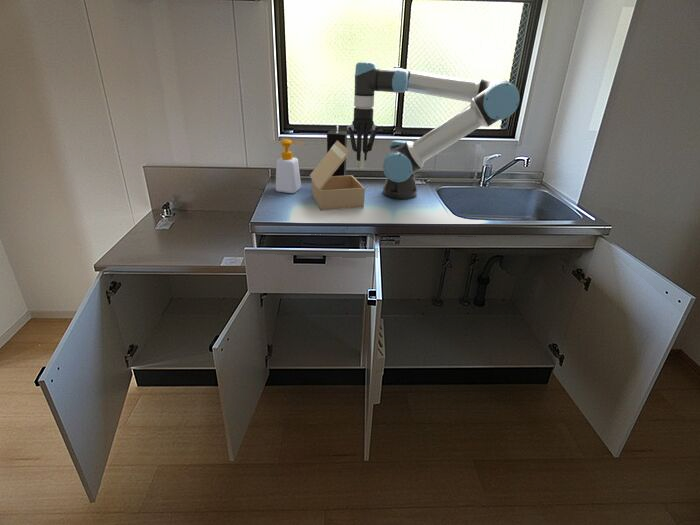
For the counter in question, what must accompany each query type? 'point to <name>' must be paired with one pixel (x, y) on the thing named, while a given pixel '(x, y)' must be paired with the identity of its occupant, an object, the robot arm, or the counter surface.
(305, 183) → the counter surface
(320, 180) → the mailer lid
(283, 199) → the counter surface
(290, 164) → the soap bottle
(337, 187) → the base
